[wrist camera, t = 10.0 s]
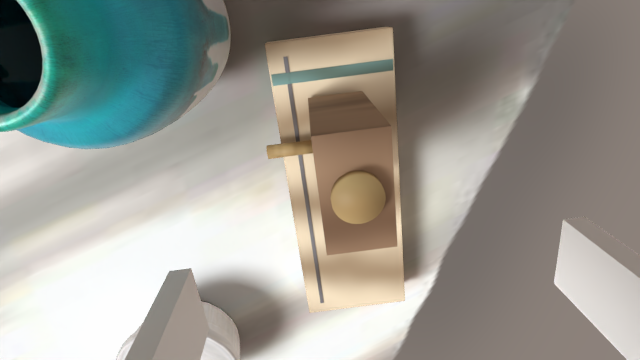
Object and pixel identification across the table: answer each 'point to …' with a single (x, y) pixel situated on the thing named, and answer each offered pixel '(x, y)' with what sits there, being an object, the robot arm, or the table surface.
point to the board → (294, 125)
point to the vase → (106, 66)
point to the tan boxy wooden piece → (350, 171)
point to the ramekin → (208, 337)
